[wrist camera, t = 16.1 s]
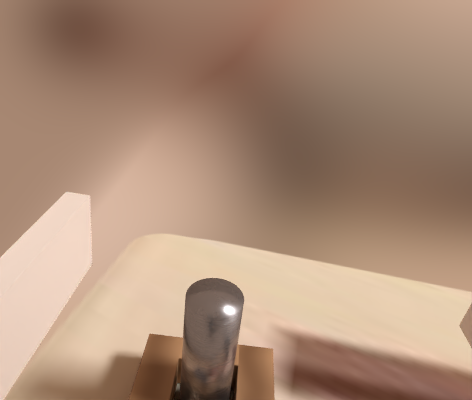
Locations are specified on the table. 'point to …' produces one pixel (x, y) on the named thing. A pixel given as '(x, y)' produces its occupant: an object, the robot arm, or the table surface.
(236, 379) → the socket block
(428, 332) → the table surface
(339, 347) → the table surface
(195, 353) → the pin
